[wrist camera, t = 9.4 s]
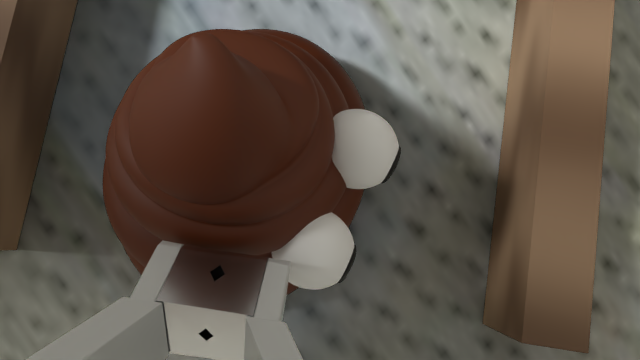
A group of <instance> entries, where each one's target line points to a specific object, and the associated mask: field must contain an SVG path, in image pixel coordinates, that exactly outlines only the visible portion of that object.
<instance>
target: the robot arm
mask: <svg viewBox="0 0 640 360" xmlns="http://www.w3.org/2000/svg"><path fill="white" fill-rule="evenodd" d="M290 266H291V261H286V260H280V259H274V258H269V257H262V256H255V255H249V254H242V253H235V252H228V251H227V252H224V251H219V250H214V249H208V248H203V247H197V246H192V245H187V244H180V243H174V242H169V241H162V242H161V243H160V244H158V245H157V247H156V249H155V251H154V253H153V255H152V256H151V258H150V260H149V262H148V264H147V266H146V268H145V269H144V271H143V273H142V275H141V277H140V279H139V281H138V283H137V284H136V286H135V288H134V290H133V292H132V294H131V296H130V297H121V298H120V299H118V300H117V301H115V302H114V303H112V304H110V305H109V306H107V307H106V308H104V309H103V310H101V311H100V312H98V313H96V314H95V315H93V316H92V317H90V318H89V319H87V320H86V321H84V322H83V323H81V324H79V325H78V326H76V327H75V328H73V329H72V330H70V331H69V332H67V333H65V334H64V335H62V336H61V337H59V338H58V339H56V340H55V341H53V342H51V343H50V344H48V345H47V346H45V347H44V348H42V349H41V350H39V351H37V352H36V353H34V354H33V355H31V356H30V357H28V358H27V359H25V360H165V359H166V358H167V357H168V356H169V353H172V354H179V355H187V356H195V357H202V358H209V359H214V360H303V358H302V356H301V354H300V352H299V349H298V347H297V345H296V343H295V341H294V339H293V337H292V334H291V332H290V330H289V328H288V326H287V324H286V322H282V321H283V316H284V309H285V302H286V295H287V288H288V281H289V274H290Z"/></svg>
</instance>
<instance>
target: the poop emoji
mask: <svg viewBox="0 0 640 360" xmlns="http://www.w3.org/2000/svg"><path fill="white" fill-rule="evenodd" d="M400 154H401V148H400V147H399V144H398V140H397V137H396V134H395V132H394V130H393V129H392V127H391V126H390V124H389V123H388V122H387V121H386V120H385V119H383V118H382V117H381V116H379V115H378V114H376V113H374V112H371V111H368V110H365V108H364V105H363V102H362V100H361V97H360V95H359V93H358V91H357V89H356V87H355V85H354V83H353V82H352V80H351V78H350V77H349V75H348V74H347V73H346V71H345V70H344V69H343V68H342V66H341V65H340V64H339V63H338V62H337V61H336V60H335V59H334V58H333V57H332V56H331V55H330V54H329V53H327V52H326V51H325V50H323V49H322V48H321V47H319V46H318V45H316V44H314V43H313V42H311V41H309V40H307V39H305V38H302V37H300V36H297V35H294V34H291V33H288V32H283V31H278V30H269V29H252V30H243V31H240V30H231V29H214V30H205V31H200V32H196V33H192V34H189V35H187V36H184V37H182V38H180V39H179V40H177V41H175V42H174V43H172V44H171V45H170V46H169V47H168V48H166V49H165V50H164V51H163V52H162V54H160V55H159V56H158V57H156V58H155V59H154V60H152V61H151V62H150V63H149V64H148V65H147V66H145V67H144V68H143V69H142V70H141V72H140V73H139V74H138V75H137V76H136V77H135V79H134V80H133V81H132V83H131V84H130V86H129V87H128V89H127V91H126V92H125V94H124V96H123V98H122V100H121V102H120V104H119V106H118V108H117V110H116V112H115V114H114V117H113V119H112V122H111V125H110V128H109V132H108V136H107V142H106V159H105V164H104V170H103V196H104V202H105V207H106V211H107V214H108V217H109V220H110V223H111V225H112V227H113V229H114V231H115V233H116V235H117V237H118V238H119V240H120V241H121V243H122V244H123V246H124V248H125V251H126V253H127V254H128V256H129V258H130V260H131V261H132V263H133V264H134V266H135V267H136V269H137V270H138V271H139V273H140V274H141V275H142V273H143V271H144V269H145V268H146V266H147V264H148V262H149V260H150V258H151V256H152V255H153V253H154V251H155V249H156V247H157V245H158V244H160V243H161V242H162V241H169V242H174V243H180V244H187V245H192V246H197V247H203V248H208V249H214V250H219V251H224V252H227V251H228V252H235V253H242V254H249V255H255V256H262V257H269V258H274V259H280V260H286V261H291V266H290V274H289V281H288V288H287V295H288V294H290V293H291V292H293V291H294V290H296V289H297V288H299V287H300V288H304V289H310V290H317V289H324V288H327V287H330V286H332V285H334V284H336V283H340V282H342V281H343V280H344V279H345V277H346V276H347V275H348V273H349V271H350V269H351V267H352V265H353V262H354V259H355V256H356V246H355V245H354V241H353V237H352V235H351V232H350V230H349V229H348V228H349V226H350V224H351V222H352V220H353V218H354V216H355V214H356V211H357V209H358V207H359V204H360V201H361V198H362V195H363V191H364V189H366V188H371V187H374V186H376V185H378V184H380V183H384V182H386V181H387V180H388V179H389V178H390V176H391V175H392V173H393V172H394V170H395V168H396V166H397V163H398V161H399V158H400Z"/></svg>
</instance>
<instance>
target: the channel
mask: <svg viewBox="0 0 640 360" xmlns="http://www.w3.org/2000/svg"><path fill="white" fill-rule="evenodd" d="M77 1H78V0H0V250H17V246H18V242H19V238H20V234H21V230H22V226H23V221H24V217H25V213H26V209H27V205H28V201H29V197H30V193H31V189H32V185H33V181H34V177H35V173H36V168H37V164H38V160H39V156H40V152H41V148H42V144H43V140H44V136H45V132H46V128H47V124H48V120H49V115H50V111H51V107H52V103H53V99H54V95H55V91H56V87H57V83H58V79H59V75H60V71H61V67H62V62H63V58H64V54H65V50H66V46H67V42H68V38H69V34H70V30H71V26H72V22H73V18H74V14H75V9H76V5H77ZM614 4H615V0H517V3H516V13H515V22H514V31H513V41H512V50H511V60H510V69H509V79H508V88H507V98H506V107H505V116H504V126H503V135H502V145H501V154H500V164H499V173H498V183H497V192H496V201H495V211H494V220H493V230H492V239H491V249H490V258H489V267H488V277H487V286H486V296H485V305H484V315H483V324H484V325H486V326H488V327H490V328H492V329H494V330H496V331H498V332H500V333H502V334H504V335H507V336H509V337H511V338H513V339H515V340H517V341H519V342H521V343H525V344H532V345H538V346H544V347H551V348H557V349H563V350H570V351H576V352H582V353H588V351H589V338H590V325H591V311H592V298H593V285H594V271H595V258H596V245H597V231H598V218H599V204H600V191H601V178H602V164H603V151H604V138H605V124H606V111H607V97H608V84H609V71H610V57H611V44H612V31H613V17H614Z"/></svg>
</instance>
